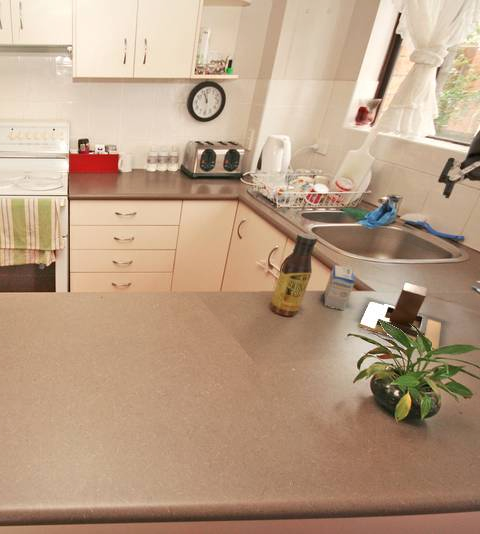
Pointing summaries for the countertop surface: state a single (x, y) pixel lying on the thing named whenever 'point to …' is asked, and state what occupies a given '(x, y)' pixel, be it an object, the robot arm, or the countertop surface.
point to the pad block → (408, 304)
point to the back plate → (384, 313)
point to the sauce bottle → (294, 277)
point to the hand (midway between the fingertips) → (471, 199)
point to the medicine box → (339, 287)
